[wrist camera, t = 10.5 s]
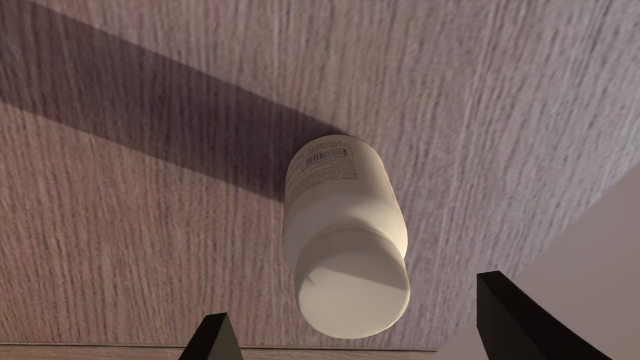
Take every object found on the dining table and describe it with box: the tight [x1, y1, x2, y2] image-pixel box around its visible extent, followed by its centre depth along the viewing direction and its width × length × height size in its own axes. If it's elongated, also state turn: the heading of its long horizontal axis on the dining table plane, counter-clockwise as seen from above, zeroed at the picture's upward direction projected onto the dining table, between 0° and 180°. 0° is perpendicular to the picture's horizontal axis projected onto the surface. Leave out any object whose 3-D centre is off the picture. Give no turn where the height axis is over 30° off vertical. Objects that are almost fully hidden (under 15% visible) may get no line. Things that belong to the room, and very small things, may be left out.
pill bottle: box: [282, 135, 410, 339], centre depth 17 cm, size 4×4×8 cm
